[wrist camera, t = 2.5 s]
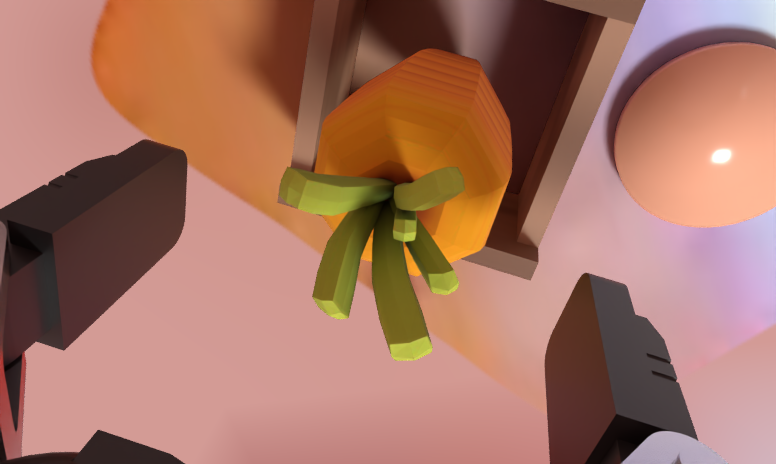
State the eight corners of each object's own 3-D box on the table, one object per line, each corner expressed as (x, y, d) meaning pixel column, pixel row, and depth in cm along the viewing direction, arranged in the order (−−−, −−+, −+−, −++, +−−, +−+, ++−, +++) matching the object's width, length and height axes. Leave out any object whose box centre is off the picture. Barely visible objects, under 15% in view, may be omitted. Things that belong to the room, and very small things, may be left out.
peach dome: (664, 18, 20) (668, 20, 19) (868, 73, 19) (877, 77, 19) (585, 191, 23) (586, 197, 23) (754, 241, 23) (760, 248, 22)
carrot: (382, 21, 22) (177, 175, 9) (514, 1, 21) (490, 150, 8) (402, 143, 24) (260, 403, 11) (522, 132, 23) (513, 414, 10)
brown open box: (361, -90, 20) (316, -90, 16) (626, -19, 20) (654, 0, 15) (320, 153, 25) (277, 202, 21) (530, 216, 24) (530, 280, 20)
